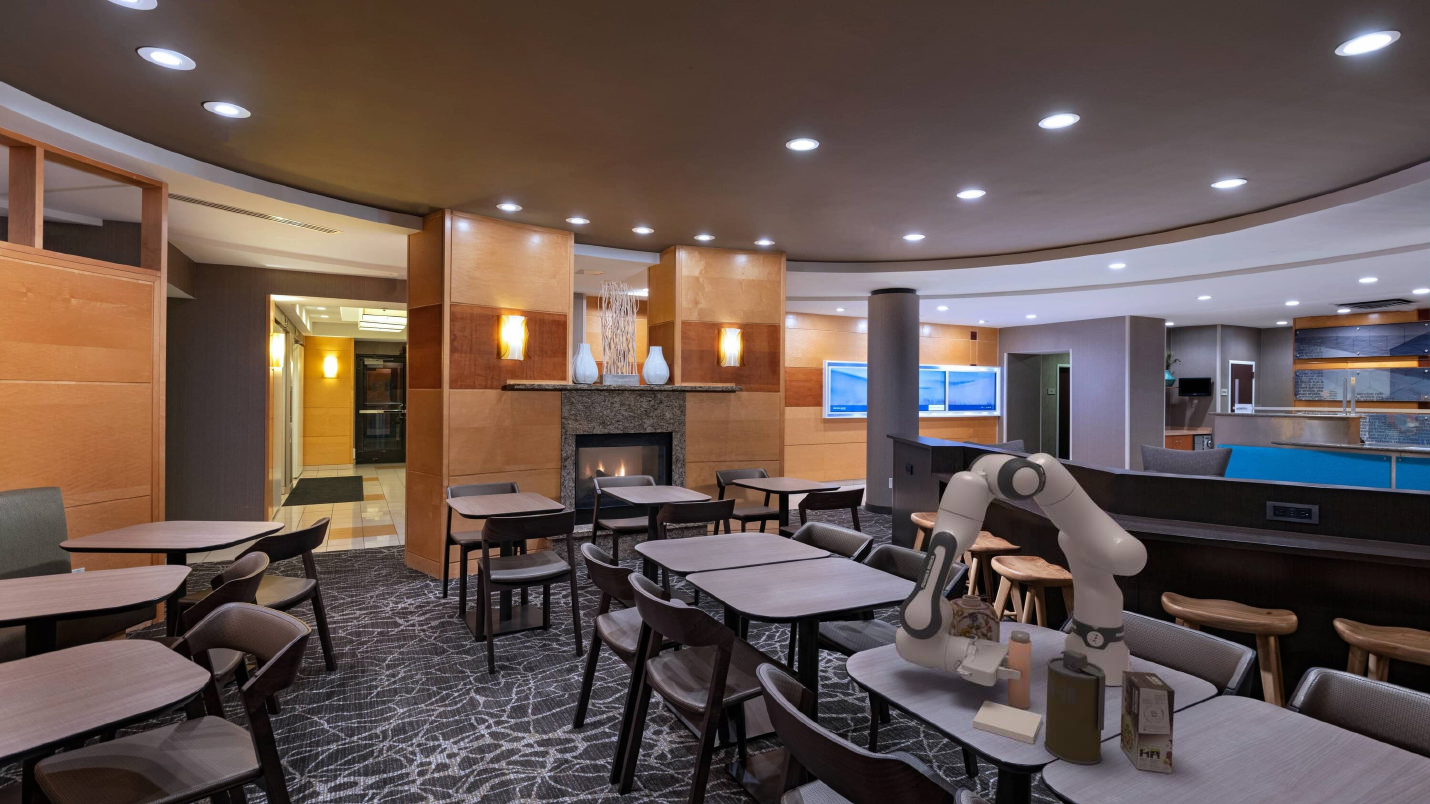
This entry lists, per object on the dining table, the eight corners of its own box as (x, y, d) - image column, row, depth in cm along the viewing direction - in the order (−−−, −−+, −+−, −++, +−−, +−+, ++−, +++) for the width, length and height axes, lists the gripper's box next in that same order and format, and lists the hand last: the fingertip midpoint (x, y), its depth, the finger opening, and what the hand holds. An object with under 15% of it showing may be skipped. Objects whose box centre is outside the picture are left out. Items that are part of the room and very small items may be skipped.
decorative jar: (999, 672, 178) (1001, 604, 178) (954, 671, 179) (957, 602, 178) (982, 655, 190) (984, 590, 190) (940, 653, 191) (942, 589, 190)
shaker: (1009, 697, 163) (1011, 628, 163) (1031, 702, 161) (1033, 632, 160) (1005, 704, 159) (1007, 634, 159) (1027, 710, 157) (1029, 638, 156)
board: (985, 706, 158) (985, 700, 158) (1042, 721, 152) (1042, 714, 152) (972, 727, 148) (972, 720, 148) (1032, 744, 142) (1033, 736, 142)
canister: (1033, 745, 141) (1036, 649, 141) (1064, 733, 146) (1067, 641, 146) (1083, 771, 132) (1087, 668, 132) (1115, 758, 137) (1118, 659, 137)
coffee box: (1173, 774, 132) (1176, 691, 131) (1136, 769, 133) (1139, 687, 133) (1153, 750, 141) (1155, 672, 140) (1118, 746, 142) (1121, 668, 142)
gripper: (951, 657, 158) (1015, 671, 151) (972, 632, 175) (1031, 644, 168) (950, 684, 159) (1014, 700, 151) (971, 656, 176) (1030, 670, 168)
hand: (1023, 670), depth 159 cm, fingers closed on shaker, 5 cm apart
